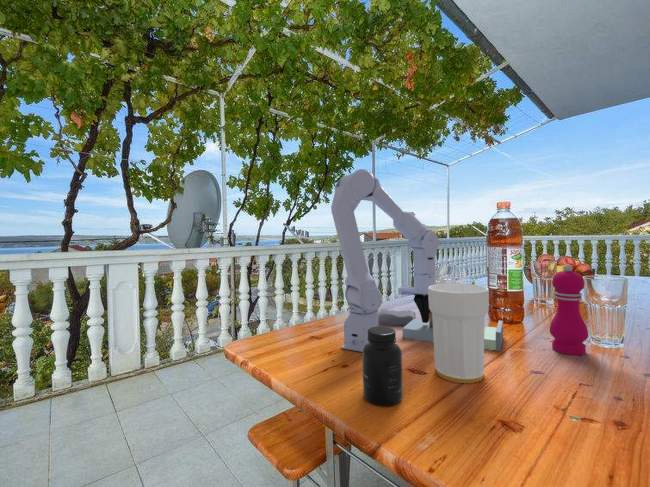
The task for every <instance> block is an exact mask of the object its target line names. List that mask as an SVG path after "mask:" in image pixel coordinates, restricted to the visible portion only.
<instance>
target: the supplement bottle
mask: <svg viewBox="0 0 650 487" xmlns="http://www.w3.org/2000/svg"><path fill="white" fill-rule="evenodd" d="M396 337H397V335H396V330H395V329H394V328H392V327H389V326H385V325H380V326H379V325H378V327H372V328H369V329H368V337H367V340H368V342H369V343H367V344H366V345H365V346H364V347H363V350H362V352H361V353H362V357H361V358H362V392H363V397H364V398H365V400H366V401H367V402H368V403H370V404H372V405H375V406H378V407H392V406H395V405H397V404H399V403H400V402H401V401H402V399H403V354H402V349H401V347H400V346H399V345H398V344H397V343H396V342H397V338H396Z"/></svg>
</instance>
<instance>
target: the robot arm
mask: <svg viewBox="0 0 650 487" xmlns="http://www.w3.org/2000/svg"><path fill="white" fill-rule="evenodd" d="M362 201H367V202H372V203H373V204H375V205H376V206H377V207H378V208H379V209H381V211H382V212H384V213H385V214H386V215H387V216H389V217H390V218H391V219H392V223H393V224H392V225H393V227H394V228H395V229H396V230H397V231H398V232H399V233H400V234H401V235H403V237H405V239H407V243H408V246H409V247H410V249H412V251H413V252H412V253H413V254H412V256H413V259H412V260H413V286H405V287H404V286H400V287H398V290H397V291H398V296H404V295H405V296H414V297H413V301H414V304H415V305H416V307H417V309H418V311H419V314H420V318H421V319H422V323H428V322H429V313H430V312H431V311H430V309H429V300H428V287H429V286H431V285H435V284H437V282H436V256H437V250H438V247H439V245H440V241H441V240H440V239H439V237H438V235H437V234H436V232H435V231H434V230H430V229H428V228H427V225H425V223H422V222H421V221H420V220H419V219H418V218H417V217H416V214H415V213H414V211H410V210H403V209H402V208H401V207H400V206H399V205H398V203H396V201H395V200H394V199H393V198H392V197H391V195H390V194H388V192H387V191H386V190H385V189H384V188H383V186H382V185H381V183H380V181H379V179H378V178H377V177H376V176H374V174H372V172H371V171H370V170H368V169H365V168H362V169H361V168H360V169H358V170H355V172H351V173H349V174H345V175H343V176H342V177H341V178H339V180H338V181H337V183H336V184H335V185H334V194H333V199H332V202H331V215H332V218H333V221H334V222H333V223H334V226H335V230H336V234H337V235H336V236H337V238H338V242H339V247H340V250H341V254H342V255H341V256H342V258H343V263H344V266H345V270H346V275H347V277H346V278H345V281H344V282H345V293H344V296H345V299H346V301H347V303H348V304H349V309H348V310H349V311H348V314H349V315H348V316H347V317H346V318H345V320H344V323H343V337H344V338H343V339H344V342H343V343H344V344H342V345H341V349H343V350H350V351H355V352H361V353H362V350H363V347H364V346H365V345H366V344H367V343H369V342H368V340H367V337H368V329H369V328H372V327H378V326H379V324H378V312H379V309H380V308H381V305H382V303H383V294H382V292H381V290H380V289H379V287H378V286H377V283H376V280H375V279H374V277H372V275H371V274H370V272H369V270H368V265H367V260H366V256H365V253H364V248H363V244H362V240H361V236H360V232H359V228H358V224H357V218H356V216H355V215H356V214H355V210H356V208H357V207H359V204H360V203H361V202H362Z"/></svg>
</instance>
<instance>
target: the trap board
mask: <svg viewBox="0 0 650 487" xmlns="http://www.w3.org/2000/svg"><path fill="white" fill-rule="evenodd" d="M496 325H497V326H495V327H494V326H487V325H486V326H485V325H484V350H486V349H489V350H488V351H493V350H496V351H495V352H500V351H502V345H503V342H504V320H500V319H499V320H498V322H497V324H496ZM401 330H402V338H404V339H410V340H417V341H423V342H424V341H425V342H431V343H434V338H433V328H429V322H428V323H422V318H421V319H420V318H416V319H413V320H412V321H411V322H409V323H408V324H407V325H406V326H404V327H402V329H401Z"/></svg>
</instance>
